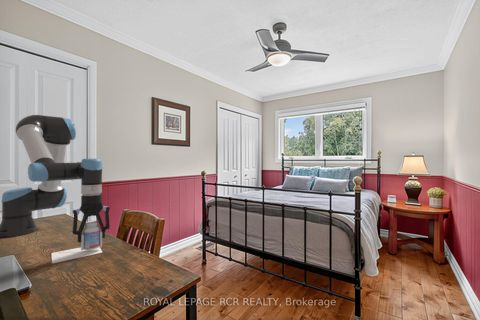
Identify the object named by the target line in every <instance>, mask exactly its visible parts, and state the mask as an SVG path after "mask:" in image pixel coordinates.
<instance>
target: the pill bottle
mask: <svg viewBox="0 0 480 320" xmlns="http://www.w3.org/2000/svg"><path fill="white" fill-rule="evenodd" d="M98 225H99V223H98V220H89V221H86V223H85V226H84V229H83V231H82V233H83V234H84V250H93V249H96V248H98V247H100V230H101V228H100V226H98Z"/></svg>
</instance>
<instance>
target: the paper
mask: <svg viewBox="0 0 480 320" xmlns="http://www.w3.org/2000/svg"><path fill="white" fill-rule="evenodd" d="M101 248H102V247H100V246H99V247H98V248H96V249H93V250H82V251H81V246H80V247H74V248H70V249H66V250H65V249H64V250H60V251H55V252H51V264H56V263H61V262H66V261H70V260H71V261H72V260H74V259H81V258H84V257H90V256H93V255H98V254H99V255H100V254H102V253H103V251H102V249H101Z"/></svg>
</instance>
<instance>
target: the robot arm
mask: <svg viewBox="0 0 480 320" xmlns="http://www.w3.org/2000/svg"><path fill="white" fill-rule="evenodd" d="M15 133H16V136H17V138H18V139H19V140H20V141H22V144H23V146H24V148H25V151H26V153H27V156H28V158H29V160H30V163H29V165H28V168H27V175H28V176H27V177H28V179H29V181H30V182H41V183H40V184H38V186H37V189H33V188H32V187H31V186H29V187H20V188H14V189H9V190H6V191H4V192H3V193H2V196H1V222H0V238H11V237H17V236H18V237H19V236H25V235H27V234H31V233H33V232H36V230H37V224H36V223H35V220H34V217H33V211H34V212H35V211H41V210H49V209H56V208H61V207H63V206H64V205H65V203H66V201H67V198H68V195H67V194H68V192H67V191H68V190H67V189H66V188H65V186H64V185H63V184H62V181H72V180H73V181H74V180H80V181H81V186H80V187H81V188H80V189H81V191H80V192H81V201H80V203H81V204H80V207H79V208H77V209H72V214H73V221H72V234H73V235H77V243H80V247H81V251H82V250H84V234H83V230H84V229H85V227H86V226H85V223H86V222H87V220H88V218H89V217H96V221H98V225H99V228H100V246H99V247H100V248H102V247H103V239H105V237H106V231H107V230H109V229H110V228H111V227H110V226H111V225H110V214H109V213H110V206H108V205H106V206H105V205H103V194H102V193H103V188H102V187H103V163H102V159H100V158H82V159H81V161H79V162H65V157H66V150H67V146H68V145H70V144H71V141H73V140H75V139H76V136H77V130H76V126H75V122H74V121H73V120H72V119H70V118H68V117H67V118H65V117H61V116H51V115H41V114H31V115H28V116H26V117H23V118H22V119H21V120H19V121H18V122H17V124H16V126H15ZM102 210H103V212H104V222H103V221H102V217H101V215H100V213H101V211H102ZM80 212H81V213H82V214H83V216H82V219H81V222H80V225H79V228H78V219H79V214H80ZM104 223H105V226H104ZM77 229H78V230H77Z"/></svg>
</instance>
